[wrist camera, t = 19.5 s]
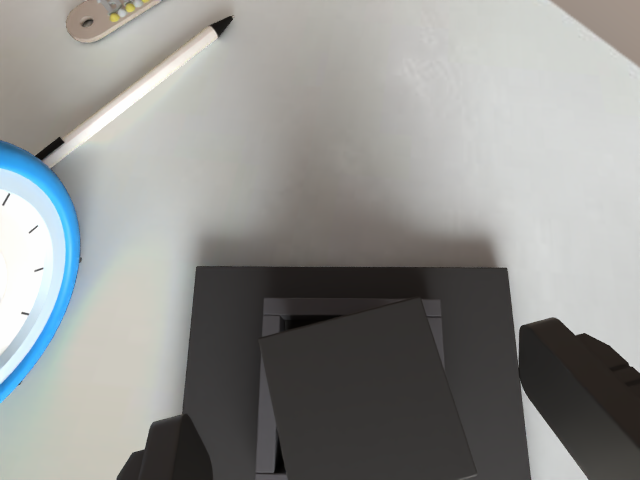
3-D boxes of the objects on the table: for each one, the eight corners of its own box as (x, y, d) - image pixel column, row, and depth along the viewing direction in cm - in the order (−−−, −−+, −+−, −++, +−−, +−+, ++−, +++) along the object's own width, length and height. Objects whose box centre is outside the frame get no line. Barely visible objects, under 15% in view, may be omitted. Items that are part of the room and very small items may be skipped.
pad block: (387, 326, 22) (420, 295, 13) (418, 432, 20) (479, 475, 12) (288, 352, 22) (257, 337, 13) (313, 461, 20) (297, 526, 12)
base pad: (499, 272, 24) (523, 257, 21) (526, 530, 20) (561, 558, 17) (202, 271, 24) (183, 256, 21) (179, 521, 21) (152, 547, 18)
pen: (-16, 207, 26) (-31, 200, 25) (230, 17, 29) (226, 3, 28) (-8, 217, 26) (-23, 211, 25) (239, 25, 29) (235, 11, 28)
